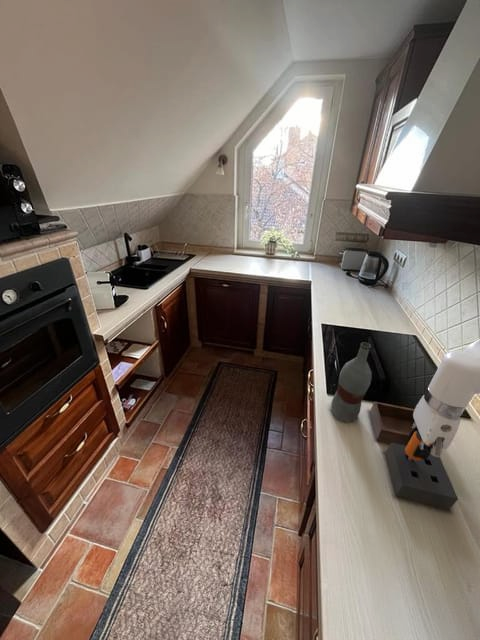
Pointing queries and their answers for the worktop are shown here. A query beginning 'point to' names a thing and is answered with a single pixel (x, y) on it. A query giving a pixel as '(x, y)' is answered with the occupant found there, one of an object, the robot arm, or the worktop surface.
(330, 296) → the worktop surface
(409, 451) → the screwdriver
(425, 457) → the robot arm
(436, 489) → the holder
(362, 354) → the bottle
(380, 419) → the tool tray
